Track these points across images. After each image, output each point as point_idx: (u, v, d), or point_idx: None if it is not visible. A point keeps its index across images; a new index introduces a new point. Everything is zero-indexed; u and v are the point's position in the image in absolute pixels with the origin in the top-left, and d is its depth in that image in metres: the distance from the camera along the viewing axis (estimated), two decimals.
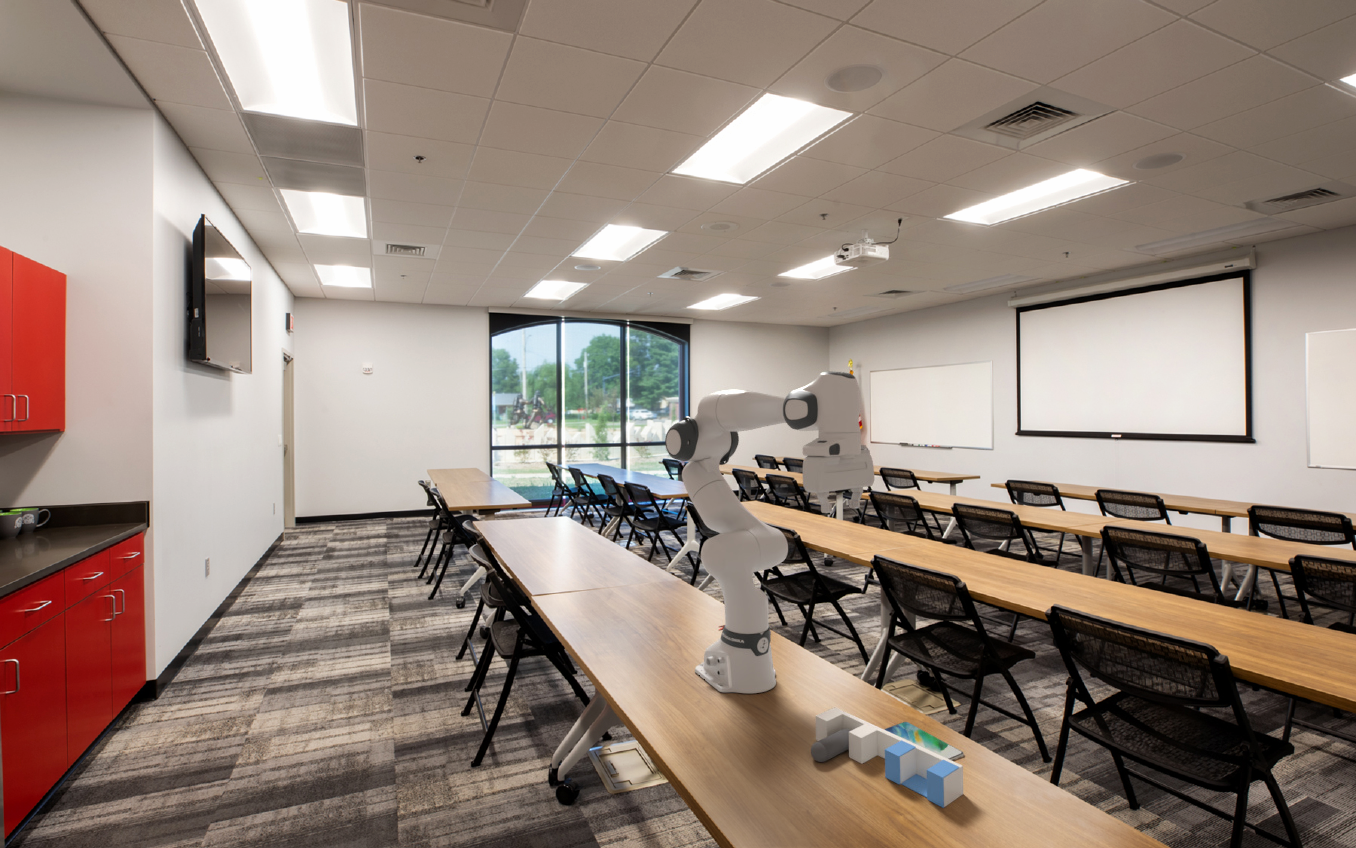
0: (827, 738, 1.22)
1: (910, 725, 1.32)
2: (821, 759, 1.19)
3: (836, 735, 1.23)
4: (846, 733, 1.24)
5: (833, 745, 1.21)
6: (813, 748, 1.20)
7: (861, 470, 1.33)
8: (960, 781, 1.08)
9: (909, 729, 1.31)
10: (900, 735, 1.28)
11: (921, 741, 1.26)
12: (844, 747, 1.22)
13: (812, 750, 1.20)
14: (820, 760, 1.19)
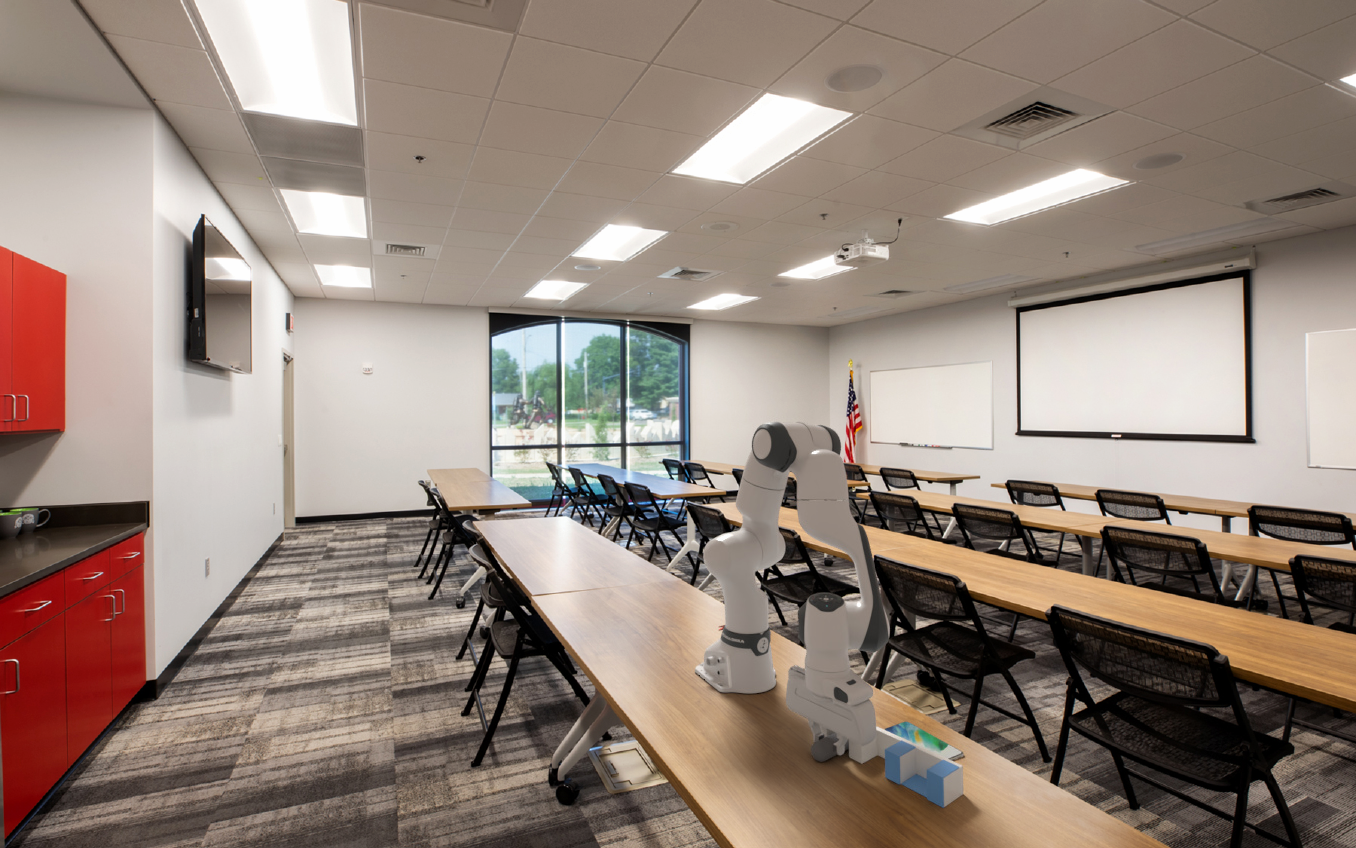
0: (827, 737, 1.22)
1: (910, 725, 1.32)
2: (821, 758, 1.19)
3: (836, 734, 1.23)
4: None
5: None
6: (813, 747, 1.20)
7: None
8: (960, 781, 1.08)
9: (910, 729, 1.31)
10: (900, 735, 1.29)
11: (921, 741, 1.26)
12: None
13: (812, 749, 1.20)
14: (820, 759, 1.19)
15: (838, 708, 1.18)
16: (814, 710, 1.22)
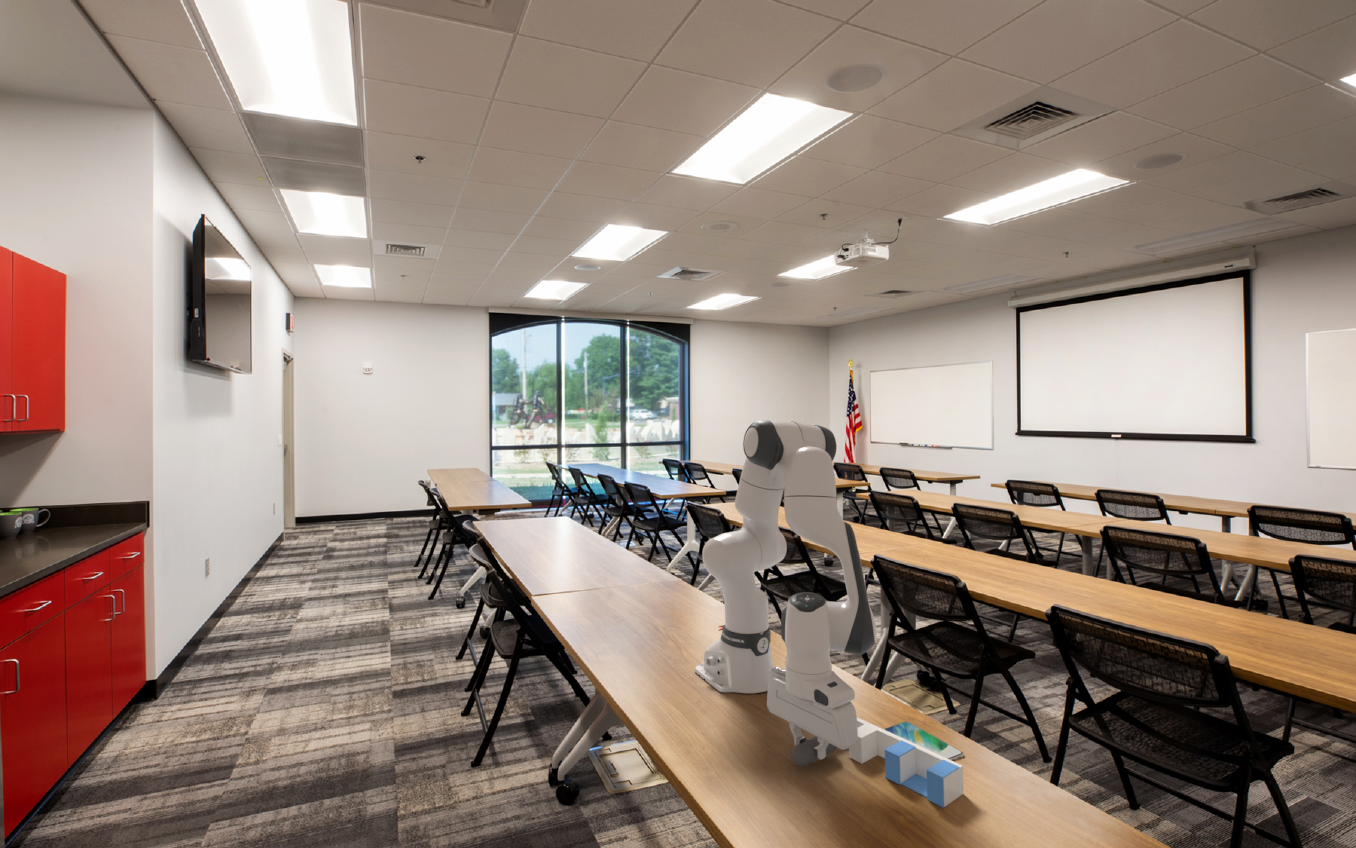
0: (808, 741, 1.19)
1: (911, 725, 1.32)
2: (801, 763, 1.15)
3: None
4: None
5: None
6: (793, 751, 1.17)
7: None
8: (960, 781, 1.08)
9: (910, 729, 1.31)
10: (900, 735, 1.29)
11: (921, 741, 1.26)
12: (826, 750, 1.19)
13: (792, 753, 1.17)
14: (800, 764, 1.16)
15: (819, 711, 1.15)
16: (795, 713, 1.19)
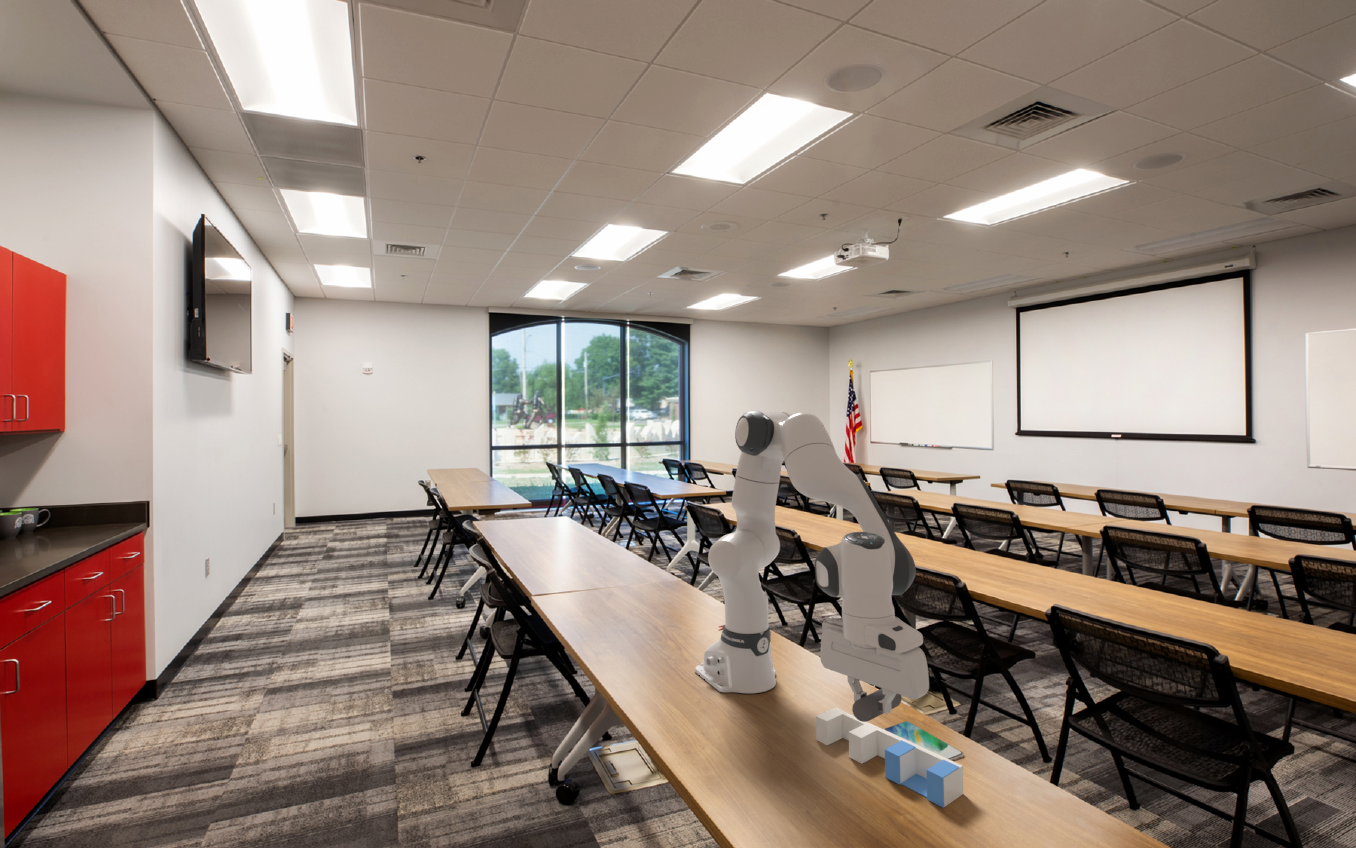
0: (870, 695, 1.07)
1: (911, 725, 1.32)
2: (865, 718, 1.04)
3: (880, 692, 1.08)
4: None
5: (877, 702, 1.06)
6: (855, 706, 1.05)
7: None
8: (960, 781, 1.08)
9: (910, 729, 1.31)
10: (900, 735, 1.29)
11: (921, 741, 1.26)
12: None
13: (854, 708, 1.05)
14: (864, 719, 1.04)
15: (883, 659, 1.03)
16: (855, 664, 1.08)
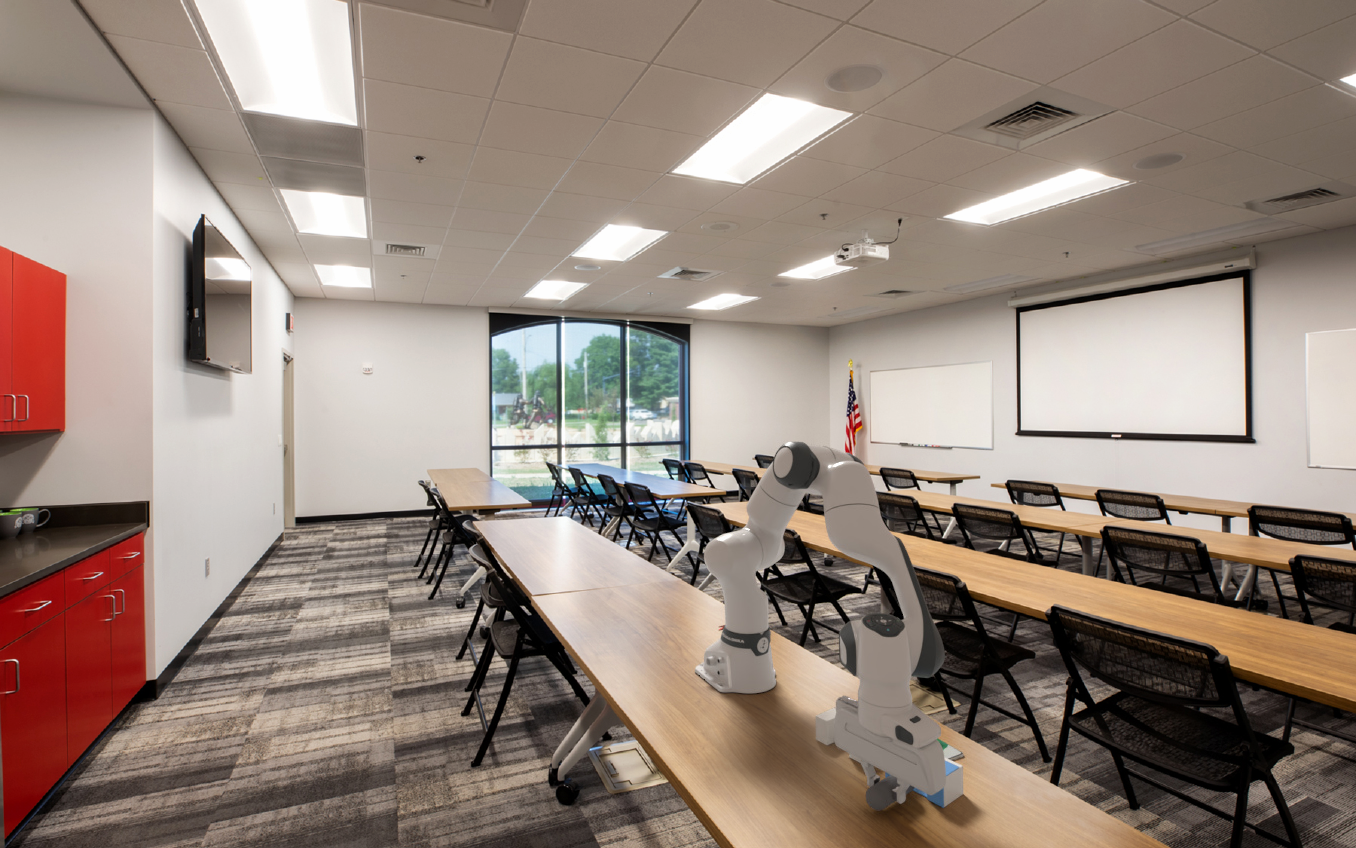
0: (884, 781, 1.05)
1: None
2: (879, 807, 1.02)
3: (894, 777, 1.06)
4: None
5: (891, 790, 1.04)
6: (869, 794, 1.03)
7: None
8: (960, 781, 1.08)
9: None
10: None
11: None
12: None
13: (868, 796, 1.03)
14: (877, 808, 1.02)
15: (899, 749, 1.01)
16: (869, 750, 1.05)
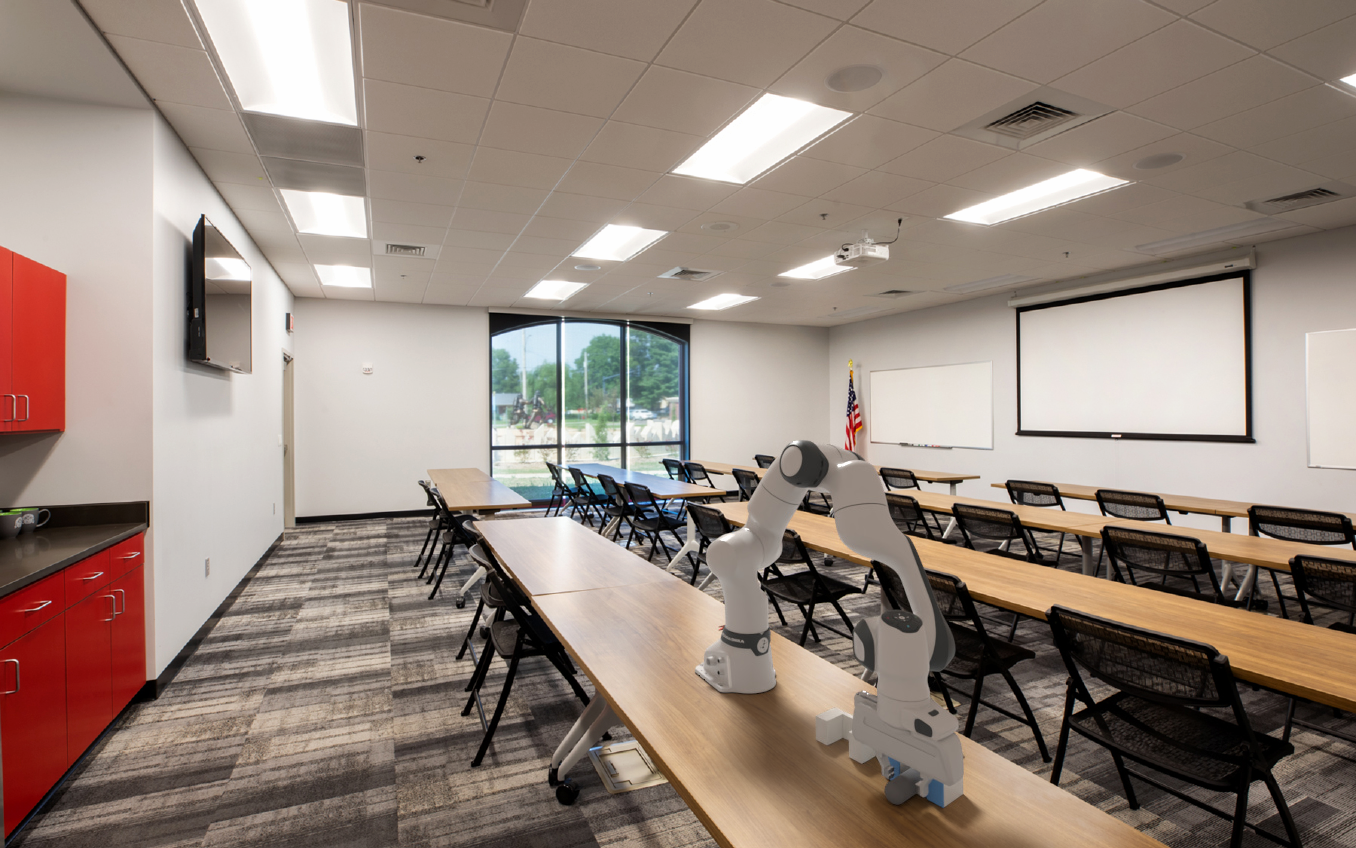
0: (902, 776, 1.08)
1: None
2: (898, 802, 1.05)
3: (911, 772, 1.09)
4: None
5: (910, 785, 1.07)
6: (888, 789, 1.06)
7: None
8: (960, 781, 1.08)
9: None
10: None
11: None
12: None
13: (887, 791, 1.06)
14: (896, 803, 1.05)
15: (918, 742, 1.04)
16: (888, 743, 1.09)
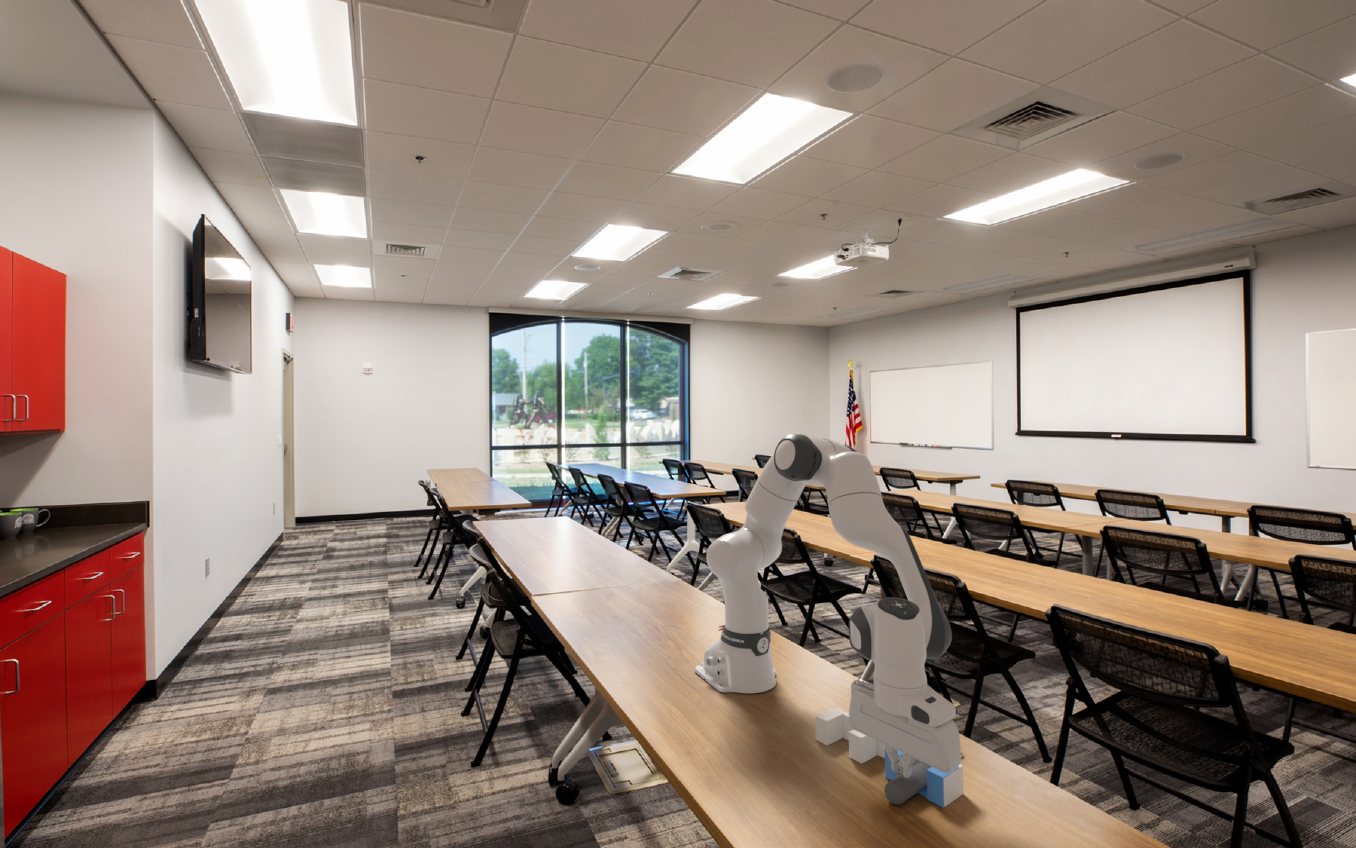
0: (902, 776, 1.08)
1: None
2: (898, 802, 1.05)
3: None
4: (922, 769, 1.10)
5: (910, 785, 1.07)
6: (888, 789, 1.06)
7: None
8: (960, 781, 1.08)
9: None
10: None
11: None
12: (921, 786, 1.08)
13: (887, 791, 1.06)
14: (896, 803, 1.05)
15: (915, 729, 1.04)
16: (885, 731, 1.08)
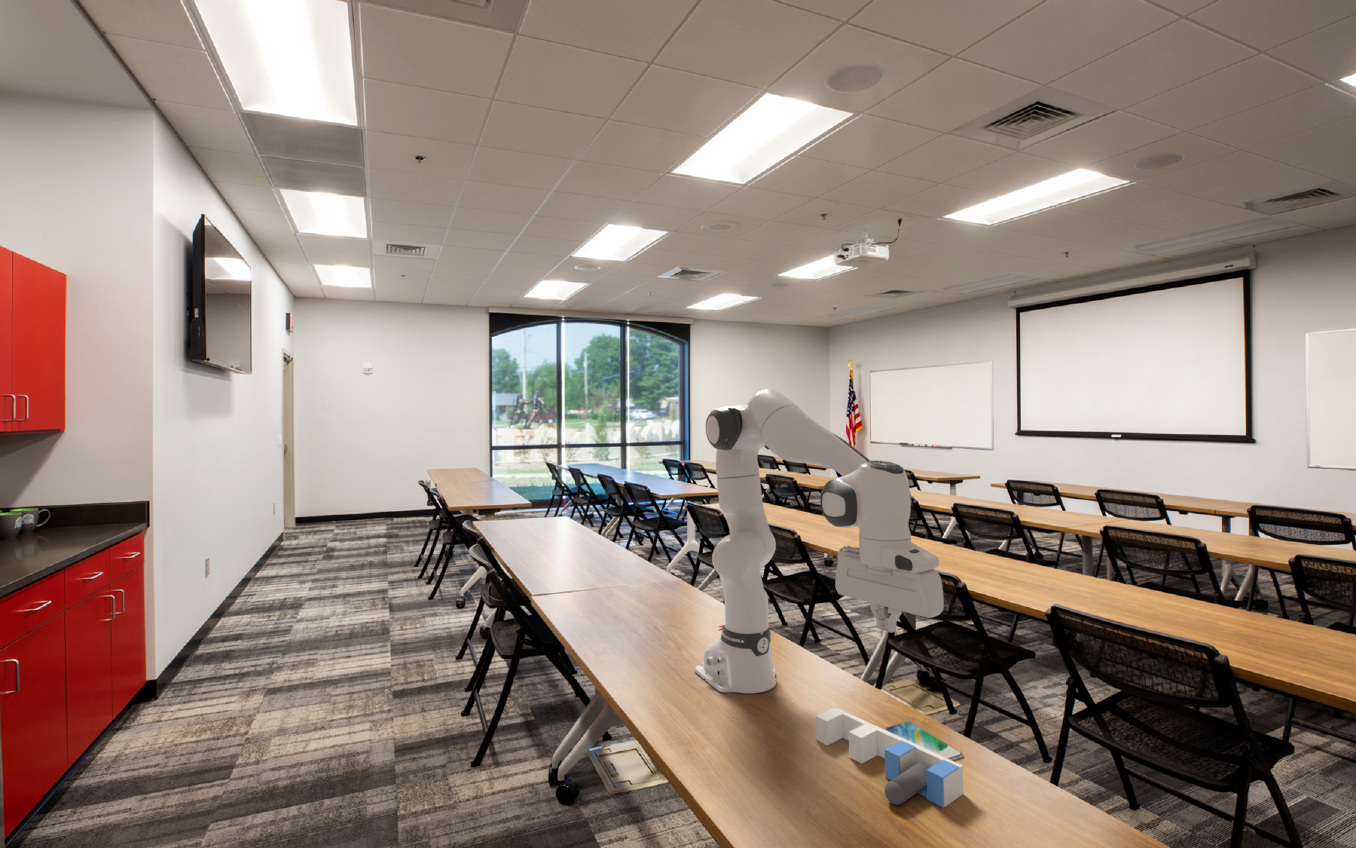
0: (902, 776, 1.08)
1: (912, 725, 1.32)
2: (898, 802, 1.05)
3: (911, 772, 1.09)
4: (922, 769, 1.10)
5: (910, 785, 1.07)
6: (888, 789, 1.06)
7: None
8: (960, 781, 1.08)
9: (911, 729, 1.31)
10: (900, 734, 1.29)
11: (921, 741, 1.26)
12: (921, 786, 1.08)
13: (887, 791, 1.06)
14: (896, 803, 1.05)
15: (899, 581, 1.05)
16: (870, 588, 1.10)
